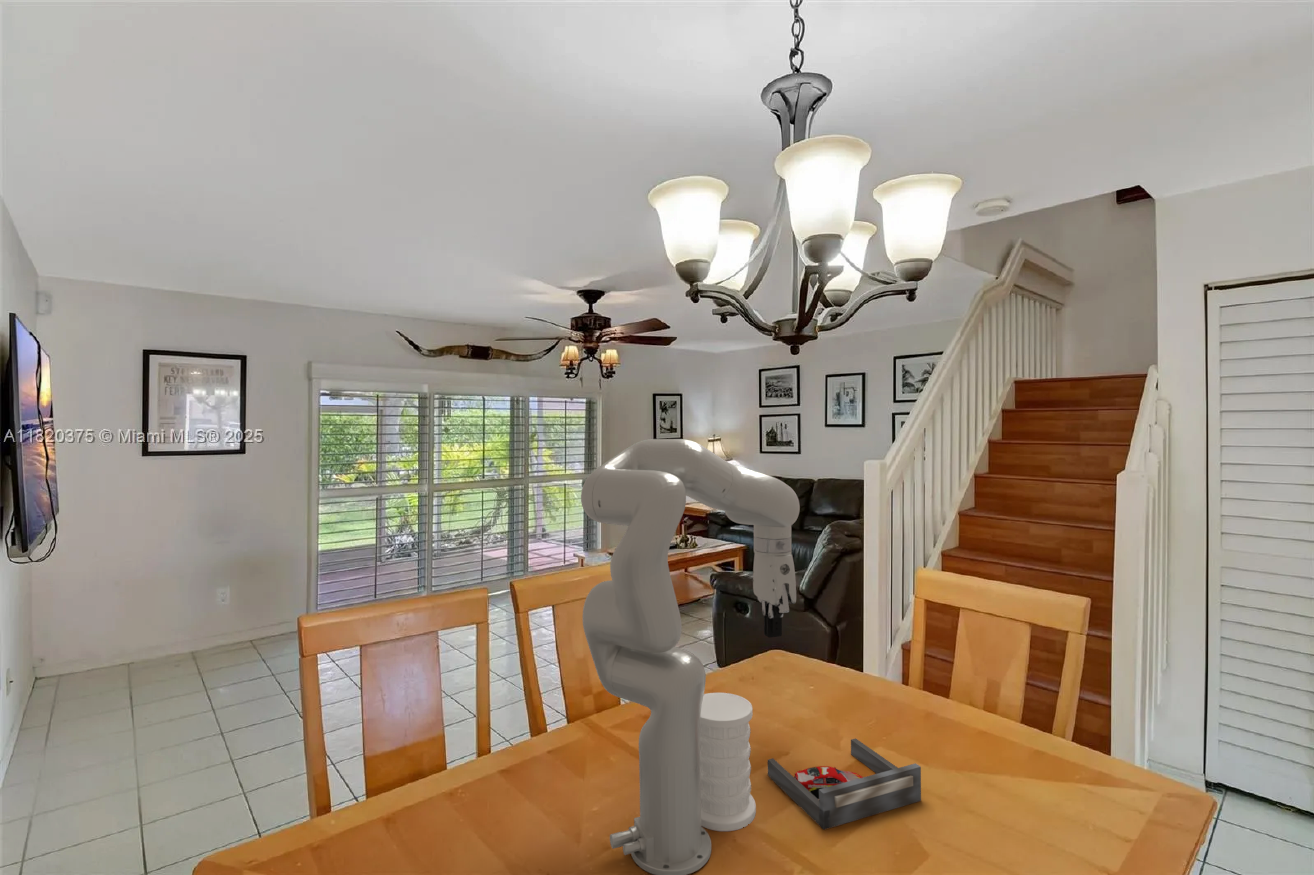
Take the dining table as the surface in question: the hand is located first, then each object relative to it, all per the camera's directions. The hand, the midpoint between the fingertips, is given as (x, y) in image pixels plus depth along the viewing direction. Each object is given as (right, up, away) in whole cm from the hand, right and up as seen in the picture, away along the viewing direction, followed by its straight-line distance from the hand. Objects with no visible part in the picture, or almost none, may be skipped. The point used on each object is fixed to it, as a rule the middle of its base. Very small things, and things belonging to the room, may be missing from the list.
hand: (772, 635), depth 127 cm
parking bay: (+10, -23, -13) cm, 28 cm away
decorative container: (-12, -24, -19) cm, 33 cm away
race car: (+8, -24, -14) cm, 29 cm away
